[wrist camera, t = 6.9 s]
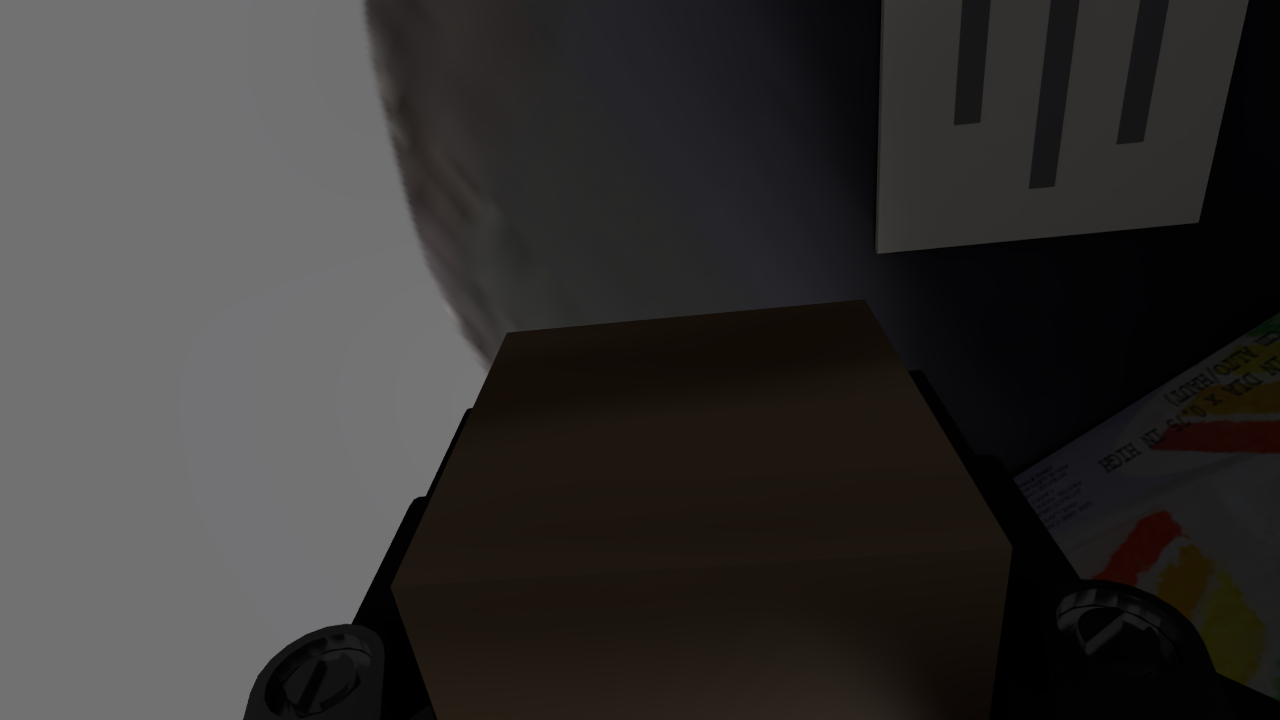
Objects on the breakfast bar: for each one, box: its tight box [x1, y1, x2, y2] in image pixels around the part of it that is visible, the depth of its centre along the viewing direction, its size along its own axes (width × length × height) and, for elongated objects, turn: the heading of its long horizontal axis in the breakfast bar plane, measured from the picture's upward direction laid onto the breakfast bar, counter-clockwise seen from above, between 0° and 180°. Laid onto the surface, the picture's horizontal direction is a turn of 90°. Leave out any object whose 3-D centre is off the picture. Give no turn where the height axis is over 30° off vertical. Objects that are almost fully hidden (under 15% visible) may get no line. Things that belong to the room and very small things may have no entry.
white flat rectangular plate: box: [875, 0, 1249, 254], centre depth 20 cm, size 11×9×1 cm
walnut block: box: [391, 300, 1013, 720], centre depth 9 cm, size 5×5×5 cm
